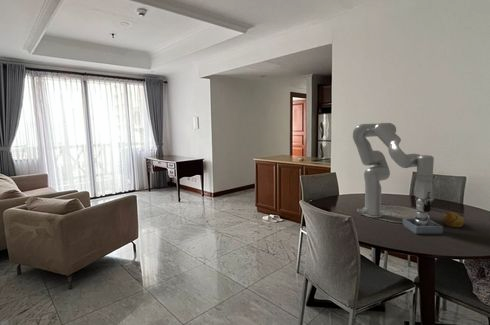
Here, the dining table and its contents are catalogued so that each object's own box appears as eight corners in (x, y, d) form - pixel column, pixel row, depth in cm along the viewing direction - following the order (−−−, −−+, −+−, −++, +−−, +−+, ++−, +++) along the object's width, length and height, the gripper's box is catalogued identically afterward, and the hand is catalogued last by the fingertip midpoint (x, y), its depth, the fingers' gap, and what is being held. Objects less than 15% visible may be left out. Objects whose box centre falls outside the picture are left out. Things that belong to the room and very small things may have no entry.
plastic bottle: (422, 225, 163) (424, 191, 161) (430, 229, 156) (433, 194, 154) (411, 225, 163) (413, 191, 160) (419, 230, 156) (421, 194, 154)
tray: (416, 234, 153) (416, 227, 152) (402, 225, 166) (402, 218, 166) (442, 233, 152) (443, 226, 152) (426, 224, 166) (427, 218, 166)
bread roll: (440, 220, 173) (441, 207, 172) (459, 222, 169) (460, 209, 168) (444, 227, 162) (445, 213, 161) (465, 229, 158) (466, 215, 156)
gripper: (408, 175, 164) (407, 205, 167) (427, 181, 147) (425, 214, 149) (421, 174, 164) (420, 204, 166) (441, 180, 147) (439, 214, 149)
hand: (422, 209), depth 158 cm, fingers open, 7 cm apart
